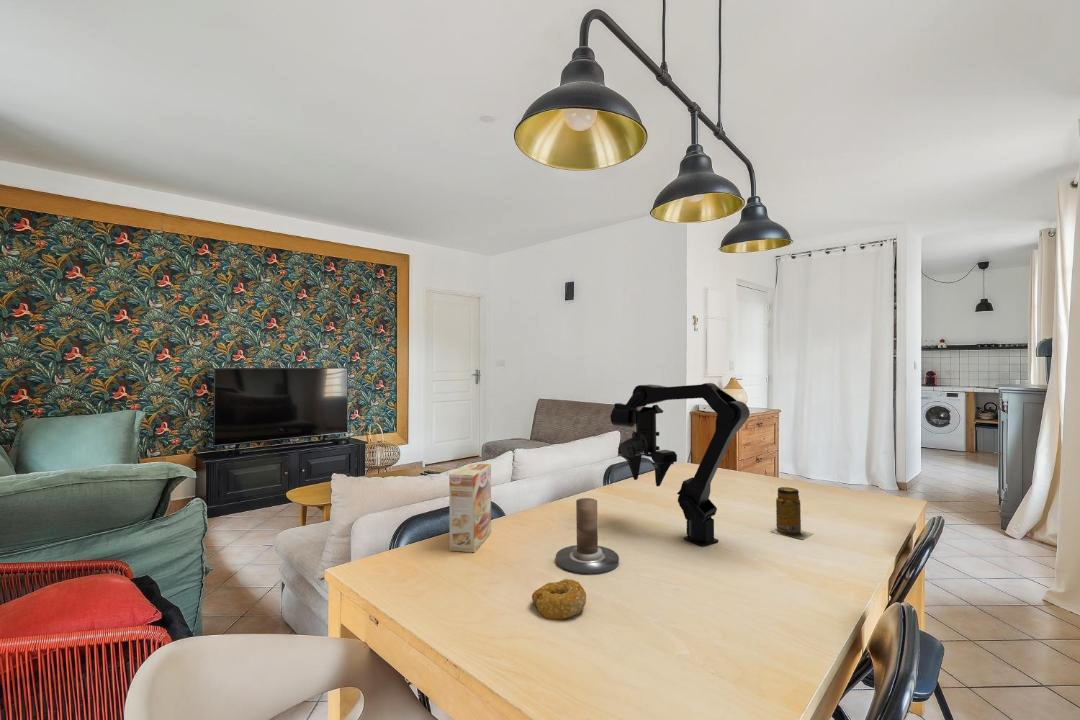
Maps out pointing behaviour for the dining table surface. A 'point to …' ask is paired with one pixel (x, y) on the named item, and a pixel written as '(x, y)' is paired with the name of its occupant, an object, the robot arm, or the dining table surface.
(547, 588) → the bagel
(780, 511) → the condiment
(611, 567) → the base plate
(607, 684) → the dining table surface
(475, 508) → the coffeecake box
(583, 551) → the wooden peg on stand
